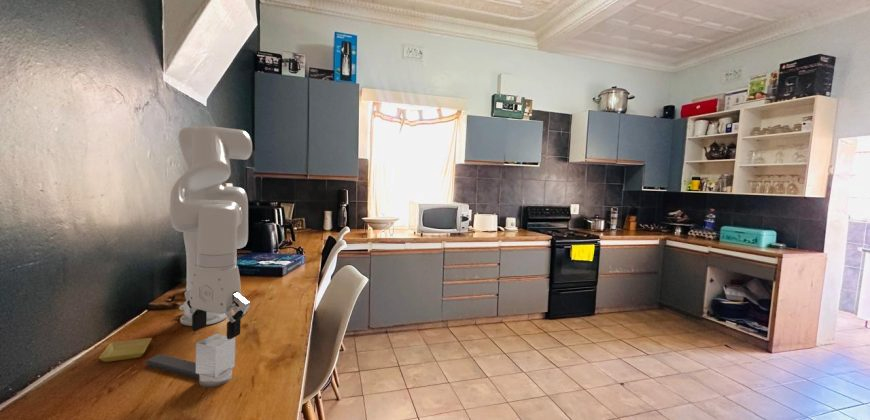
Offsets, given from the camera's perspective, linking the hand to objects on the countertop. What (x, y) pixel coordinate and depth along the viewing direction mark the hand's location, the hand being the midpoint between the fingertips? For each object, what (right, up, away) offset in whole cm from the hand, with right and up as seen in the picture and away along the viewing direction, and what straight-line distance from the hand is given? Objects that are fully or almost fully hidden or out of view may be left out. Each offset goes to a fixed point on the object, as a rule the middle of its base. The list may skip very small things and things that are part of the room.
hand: (216, 332), depth 82 cm
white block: (0, -9, 0) cm, 9 cm away
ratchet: (-8, -10, +2) cm, 13 cm away
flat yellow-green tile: (-28, -9, +9) cm, 31 cm away
